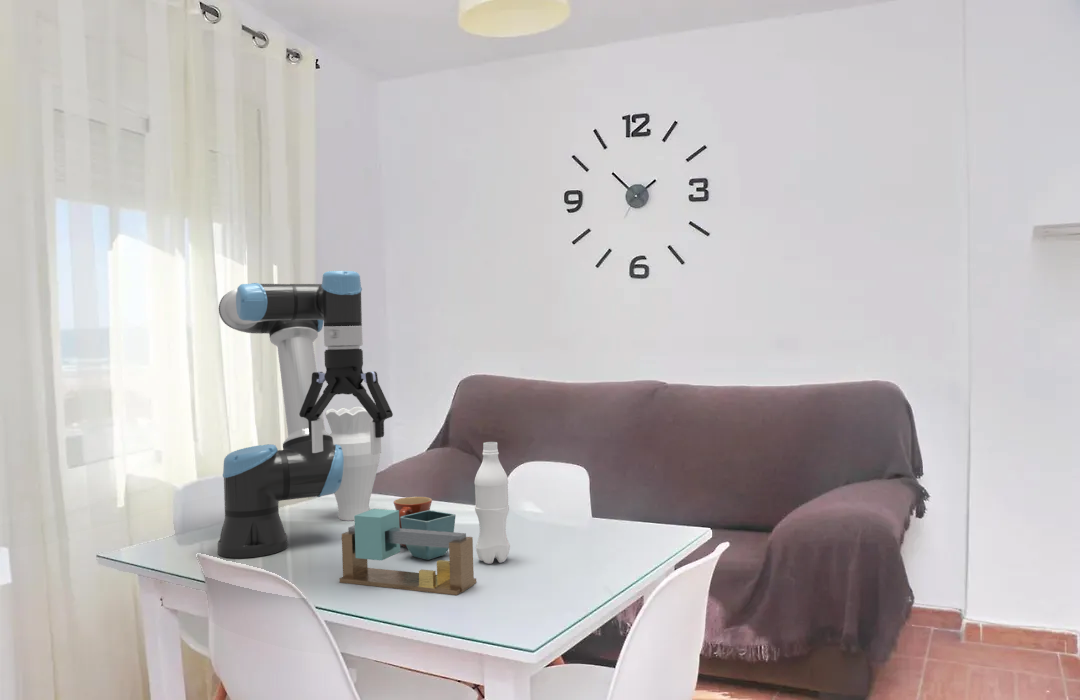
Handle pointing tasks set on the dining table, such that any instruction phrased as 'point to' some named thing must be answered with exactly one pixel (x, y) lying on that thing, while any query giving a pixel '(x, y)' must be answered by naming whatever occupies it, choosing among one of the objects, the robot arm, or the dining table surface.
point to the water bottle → (491, 506)
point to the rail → (449, 573)
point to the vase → (353, 460)
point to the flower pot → (431, 523)
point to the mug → (411, 507)
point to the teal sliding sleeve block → (375, 534)
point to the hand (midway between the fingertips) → (346, 453)
